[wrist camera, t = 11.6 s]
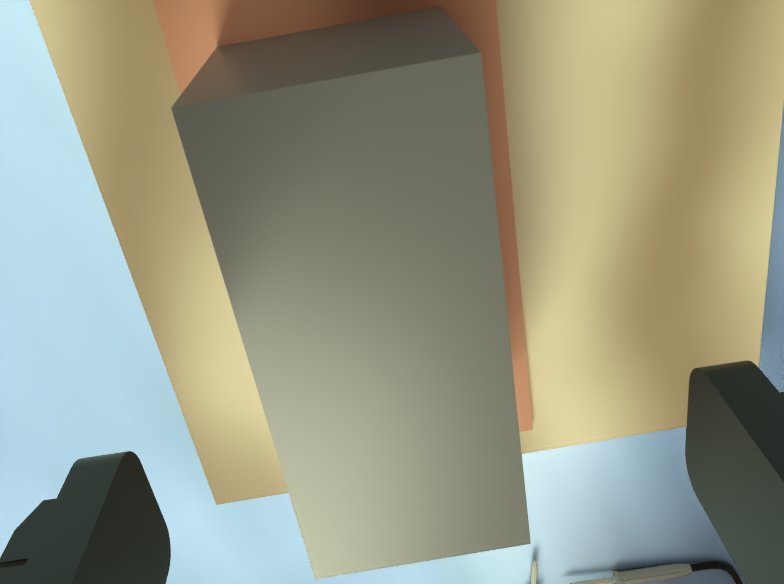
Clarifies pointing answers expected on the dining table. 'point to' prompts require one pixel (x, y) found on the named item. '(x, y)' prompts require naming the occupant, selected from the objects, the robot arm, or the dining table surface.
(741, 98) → the board
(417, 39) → the block
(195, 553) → the dining table surface
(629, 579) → the multimeter
